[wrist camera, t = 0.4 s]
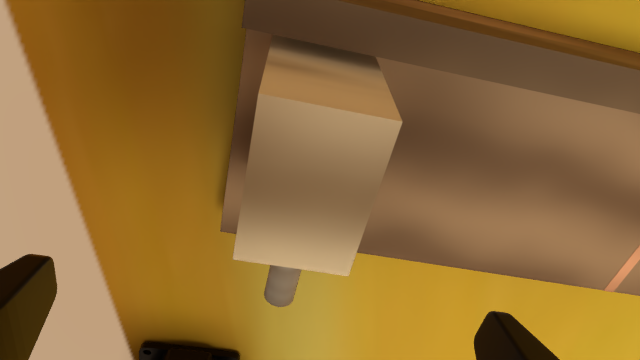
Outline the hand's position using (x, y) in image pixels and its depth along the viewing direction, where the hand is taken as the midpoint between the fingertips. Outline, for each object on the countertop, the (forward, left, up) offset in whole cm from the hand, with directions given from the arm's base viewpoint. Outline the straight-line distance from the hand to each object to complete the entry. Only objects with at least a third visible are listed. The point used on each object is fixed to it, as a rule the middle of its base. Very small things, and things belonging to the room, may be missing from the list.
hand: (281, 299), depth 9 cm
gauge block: (-2, -1, -11) cm, 11 cm away
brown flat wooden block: (-2, -10, -13) cm, 16 cm away
